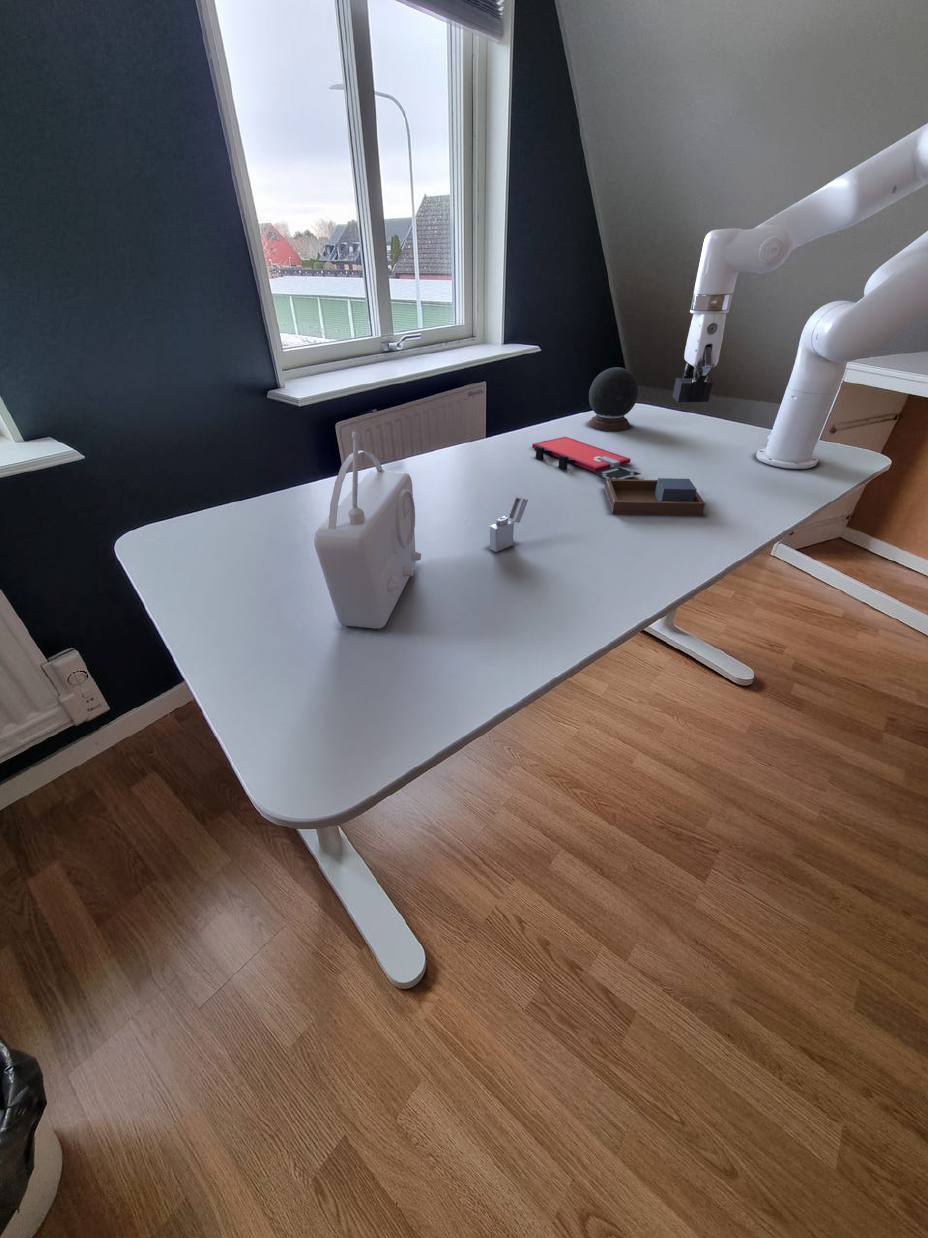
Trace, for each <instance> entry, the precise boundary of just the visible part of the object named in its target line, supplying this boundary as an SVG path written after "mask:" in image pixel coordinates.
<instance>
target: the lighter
mask: <svg viewBox="0 0 928 1238" xmlns="http://www.w3.org/2000/svg"><path fill="white" fill-rule="evenodd" d="M528 501H529V499H528V498H525V497H523V496H521V495H515V498H514V499H513V504H512V505H511V508H510V510H509V513H508V516H505V515H503V516H501V517H498V518H496V522H495V523H494V524H491V525H490V526H489V550H491V551H493V552H495V553H498V552H500V551H503V550H505V549H507V548H509V547H511V546H513V545H514V529H515V523H517V524H519V523H521V520H522V518H523V516H524V512H525V511H526V507H527V504H528Z"/></svg>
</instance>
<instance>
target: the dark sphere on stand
mask: <svg viewBox="0 0 928 1238" xmlns="http://www.w3.org/2000/svg"><path fill="white" fill-rule="evenodd" d="M638 398H639V384H638V380H637V378H636V377H635V375H634V374H633V373H632V372H631V371H629V370H628V369H626V368H624V367H617V366H615V367H614V366H613V367H610V368H607V369H605V370H603V371H601V372H600V373H599V374H598V375H597V376H596V377H595V378H594V379H593V381H592V383H591V385H590V388H589V392H588V401H589V406H590V408H591V409H592V411H593V413H594V414H596V415H595V416H592V417H591V418H590V420H589V421H588V426H589V428H591V429H594V430H598V431H604V432H619V431H625V430H627V429H629V428H630V422H629V420H628V419H627V418H626V417H625V416H626V415H627V414H629V413H630V412H631V411H632V409H634V407H635V405H636V403H637V402H638Z"/></svg>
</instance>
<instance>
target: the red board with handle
mask: <svg viewBox="0 0 928 1238" xmlns="http://www.w3.org/2000/svg"><path fill="white" fill-rule="evenodd" d="M531 448H533V449H535V459H537V460H539V461H542V460H545V459H544V457H545V455H547V456H548V455H549V456H553V457H555V458H558V466H557V467H558V468H559V469H561V470H567V469H568V464H569V465H576V466H578V467H581V468H583V469H586V470H588V471H591V472H592V474H594V475H595V476H598V477H602V478H604V479H629V478H631V477H635V476H639V475H642V473H641V472H639V471H635V470H632V469H629V468H627V467H624V466H623V465H627V464H631V460H632V459H631V458H629V457H626V456H623V455H620V454H617V453H614V452H612V451H609V450H606V449H603V448H600V447H597V446H594V445H591V444H589V443H585V442H582V441H579V440H577V439H573V438H571V437H568V436H563V437H557V438H554V439H553V438H552V439H549V440H544V441H538V442H535V443H532V445H531Z"/></svg>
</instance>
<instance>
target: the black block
mask: <svg viewBox="0 0 928 1238" xmlns="http://www.w3.org/2000/svg"><path fill="white" fill-rule="evenodd" d="M692 380H693V378H683V377H676V378H675V381H674V387H673V392H672V398H673V399H674V400H675V402H677V403H709V400H710V397H711V392H712V390H713V389H712V388H713V384H714V382H713V381H711V380H710V379H709V378H707V381H706V385H705V390H704V394H703V398H702V401H687V395H688V391H689V386H690V382H692Z"/></svg>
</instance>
